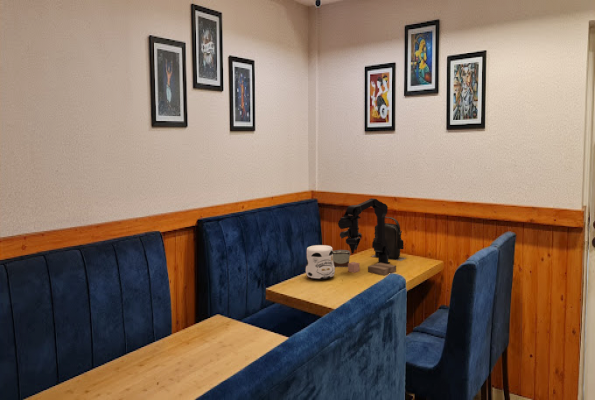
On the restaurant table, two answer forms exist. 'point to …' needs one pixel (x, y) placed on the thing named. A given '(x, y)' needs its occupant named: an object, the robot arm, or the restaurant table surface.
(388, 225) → the shoulder bag
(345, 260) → the food container
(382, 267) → the walnut block
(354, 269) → the terracotta cube
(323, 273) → the milk container
